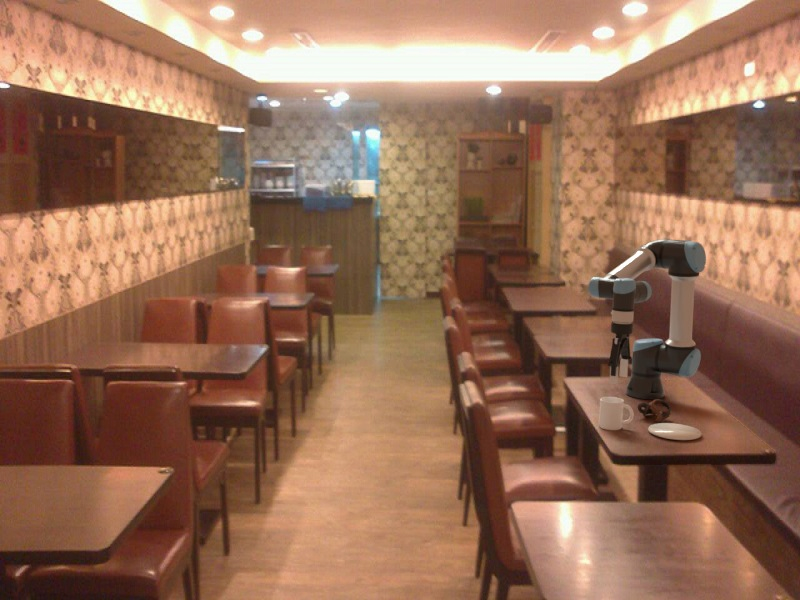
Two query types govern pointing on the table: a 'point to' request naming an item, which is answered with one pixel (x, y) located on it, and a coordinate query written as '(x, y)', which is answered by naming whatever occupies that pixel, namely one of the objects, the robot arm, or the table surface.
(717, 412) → the table surface
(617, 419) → the mug
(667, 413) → the brown twisted loop piece
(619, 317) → the robot arm
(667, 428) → the serving plate
